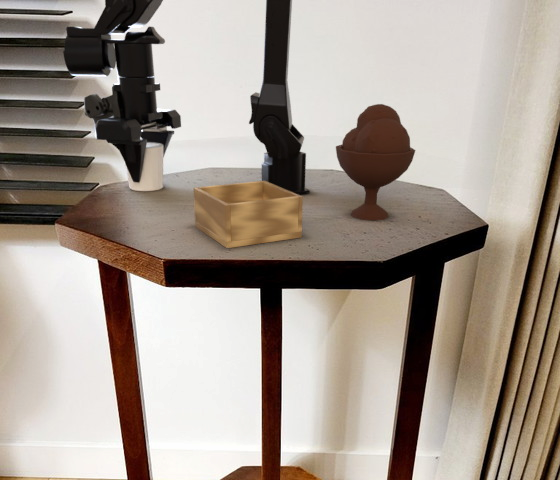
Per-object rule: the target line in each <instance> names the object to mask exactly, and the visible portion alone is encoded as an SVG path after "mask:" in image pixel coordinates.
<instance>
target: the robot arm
mask: <svg viewBox="0 0 560 480" xmlns="http://www.w3.org/2000/svg"><path fill="white" fill-rule="evenodd" d="M163 2H164V0H104V6H105V7H104V9H103V10H102V12H101V14H100V16H99V18H98V20H97V22H96V24H95V25H94V27H92V28H91V27H90V28H89V27H81V26H66V28H65V30H66V36H65V38H64V44H63V45H64V48H63V52H62V54H63V58H64V64H65V66H66V69H67V71H68V72H69V74H70V75H71V76H81V77H82V76H84V77H85V76H86V77H87V76H89V77H90V76H91V77H109V76H110V74H111V71H112V70H115V68H116V74H117V83H113V84H112V85H111V93H112V94H111V95H109V96H105V97H100V96H99V95H98V94H97V93H94V94H89V95H87V96H84V97H83V104H84V105H83V107H84V116H86V117H87V118H89V119H92V121H93V124H94V136H95V139H96V140H98V141H106V142H107V143H108V144H111V145H112V146H114V147H115V148H116V149H117V150H118V151H119V153H120V155H121V157H122V159H123V161H125V162H124V165H125V164H126V166H127V168H128V171H129V173H130V175H131V178H132V180H133V182H140V179H141V174H142V169H143V162H144V156H145V150H146V144H147V142H155V143H160V144H163V159H164V158H165V155H166V153H167V149H168V147H169V145H170V142H171V140H172V138H173V135H175V129H178V128H182V116H181V115H180V113H179V112H178V111H177V110H176V109H167V108H165V109H164V108H158V103H157V92H159V91H161V83H157V82H156V80H155V79H156V77H155V67H154V53H153V45H164V44H165V43H166V40H165V38H163V37H162V36H161V35H160V34H159V33H158V31H157V30H156V28H155V27H154V26H147V24H148V23H149V22H150V21H151V20H152V18H153V17H154V16H155V13H156V12H157V11H158V9H159V8H160V6H161V5H162V3H163ZM292 10H293V0H265V22H264V23H265V24H264V47H263V68H262V69H263V71H262V72H263V73H262V76H263V77H262V84H261V87H260V92H254V93H252V94H251V95H250V97H249V98H250V106H251V115H250V119H249V121H248V125H252V129H253V135H254V136H255V138H256V139H257V140H258V141H259V143H261V144H263V145H264V147H265V150H266V152H264V153H263V162H262V163H261V181H267V182H269V183H272V184H274V185H276V186H279V187H281V188H283V189H286V190H288V191H291V192H293V193H295V194H298V195H304V194H310V192H311V190H310V189H309V188H306V169H307V153H306V152H303V151H301V150H302V147H303V144H304V141H305V136H304V135H303V134H302V133H301V132H300V131H299V129H298V128H297V127H296V126H295V125H294V124H293V117H292V115H293V114H292V105H291V98H290V91H289V90H290V89H289V84H288V83H289V82H288V74H289V61H290V60H289V59H290V43H291V42H290V41H291V27H292ZM145 26H147V28H146V29H145V31H129V30H131V29H132V28H141V27H145ZM124 34H125V35H124ZM112 35H124V39H112ZM168 127H170V128H171V129H173V130H168Z"/></svg>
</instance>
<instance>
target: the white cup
mask: <svg viewBox="0 0 560 480" xmlns="http://www.w3.org/2000/svg"><path fill="white" fill-rule="evenodd" d="M123 161H124V160H123ZM124 166H125V171H126V176H127V182H128V187H129V189H130V190H132V191H136V192H153V191H159V190H162V189H163V188H164V158H163V144H160V143H155V142H147V144H146V150H145V156H144V162H143V169H142V174H141V179H140V182H133V180H132V178H131V175H130V173H129V171H128V168H127V166H126V164H125V161H124Z"/></svg>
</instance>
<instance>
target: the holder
mask: <svg viewBox="0 0 560 480" xmlns="http://www.w3.org/2000/svg"><path fill="white" fill-rule="evenodd" d="M192 189H193V204H194V206H193V207H194V221H195V223H194V224H195V228H197V230H200V231H201V232H202V233H204V234H206V235H207V236H208V237H210V238H211V239H213V240H214V241H215V242H217V243H218V244H220V245H222V246H223V247H225V248H226V249H231V248H239V247H245V246H254V245H259V244H266V243H267V244H268V243H273V242H280V241H288V240H294V239H300V238H301V239H302V237H303V209H304V208H303V206H304V203H303V202H304V196H303V195H301V194H295V193H293V192H291V191H288V190H286V189H283V188H281V187H279V186H276V185H274V184H272V183H269V182H267V181H262V180H257V181H247V182H236V183H227V184H217V185H207V186H206V185H205V186H198V187H197V186H196V187H193V188H192Z"/></svg>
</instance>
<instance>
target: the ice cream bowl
mask: <svg viewBox="0 0 560 480" xmlns="http://www.w3.org/2000/svg"><path fill="white" fill-rule="evenodd" d="M335 152H336V159H337V161H338V163H339V166H340V168H341V169H342V170H343V172H344V173H345V174H346V175H347V177H349V179H351V181H353V182H354V183H355V184H357V185H359V186H361V187H363V189H364V192H365V193H364V203H362V204H361V205H359V206H357V207H355V208H354V209H352V210H351V213H350V215H351V217H352V218H355V219H358V220H362V221H383V220H386V219H387V218H389V213H388V211H386V209H384V208H383V207H382V206H380V205H379V204H378V203H377V202H378V193H379V190H380V189H381V188H383V187H385V186H387V185H389V184H391V183H393V182H395V181H396V180H398V179H399V178H400V177H402V175H404V173H405V172H407V171H408V170H409V168H410V166H411V164H412V163H413V160H414V156H415V153H416V149H414V148H413V147H411V138H410V135H409V133H408V130H407V129H406V128H405V127H404V125H403V124H402V121H401V118H400V115H399V114H398V111H396V110H395V109H394V108H393V107H391V106H389V105H386V104H383V103H377V104H372V105H368V106H367V107H366V108H365V109H364V110H363V111H362V112H361V113H360V114H359V115H358V117H357V119H356V127H354V128H351V130H349V131H348V132H347V133H346V134H345V135H344V138H343V139H342V144H339V145H336V146H335Z"/></svg>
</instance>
